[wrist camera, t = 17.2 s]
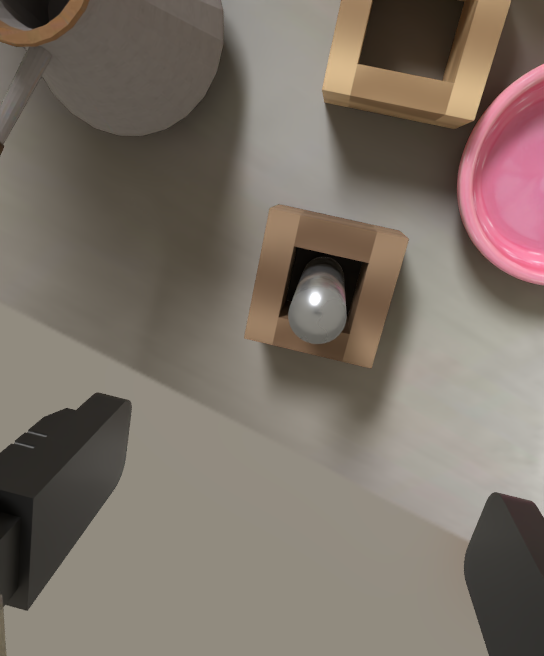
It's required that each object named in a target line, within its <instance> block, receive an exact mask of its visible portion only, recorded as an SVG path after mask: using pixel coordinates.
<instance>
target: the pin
mask: <svg viewBox="0 0 544 656" xmlns="http://www.w3.org/2000/svg"><path fill="white" fill-rule="evenodd" d="M346 317H347V315H346V300H345V285H344V273H343V269H342V267H341V266H340V264H339V263H338V262H337V261H336V260H334V259H332V258H329V257H317V258H314V259H312V260H311V261H310V262H309V263H308V264H307V265H306V266H305V268H304V270H303V273H302V276H301V278H300V281H299V284H298V286H297V289H296V292H295V294H294V297H293V300H292V302H291V305H290V308H289V312H288V319H289V324H290V327H291V329H292V330H293V332H294V333H295V334H296V335H297V336H298V337H299V338H300V339H302V340H303V341H306V342H308V343H312V344H323V343H327V342H330V341H332V340H333V339H335V338H336V337H337V336H339V334H340V333H341V332H342V330H343V329H344V327H345V324H346Z"/></svg>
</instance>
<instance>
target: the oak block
mask: <svg viewBox="0 0 544 656" xmlns="http://www.w3.org/2000/svg"><path fill="white" fill-rule="evenodd" d="M459 1H464V5H463V9H462V12H461V16H460V19H459V23H458V26H457V30H456V33H455V37H454V40H453V44H452V47H451V51H450V54H449V58H448V61H447V65H446V69H445V72H444V76H443V79H442V81H441V80H436V79H431V78H426V77H421V76H416V75H411V74H406V73H401V72H396V71H391V70H386V69H381V68H376V67H371V66H366V65H361V64H359V60H360V56H361V51H362V47H363V43H364V38H365V34H366V30H367V25H368V21H369V17H370V13H371V8H372V4H373V0H341V4H340V8H339V13H338V18H337V22H336V27H335V32H334V36H333V41H332V46H331V50H330V55H329V60H328V64H327V69H326V74H325V78H324V83H323V88H322V92H323V97H324V102H325V103H330V104H335V105H339V106H344V107H349V108H354V109H359V110H364V111H369V112H374V113H378V114H383V115H388V116H393V117H398V118H403V119H408V120H413V121H417V122H422V123H427V124H432V125H437V126H442V127H447V128H451V129H456V128H458V127H461V126H463V125H465V124H468V123H470V122H472V121H474V120H475V116H476V113H477V110H478V107H479V103H480V100H481V97H482V94H483V90H484V87H485V84H486V81H487V78H488V74H489V71H490V68H491V65H492V61H493V58H494V55H495V52H496V48H497V45H498V42H499V39H500V36H501V32H502V29H503V26H504V23H505V19H506V16H507V13H508V10H509V6H510V3H511V0H459Z"/></svg>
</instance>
